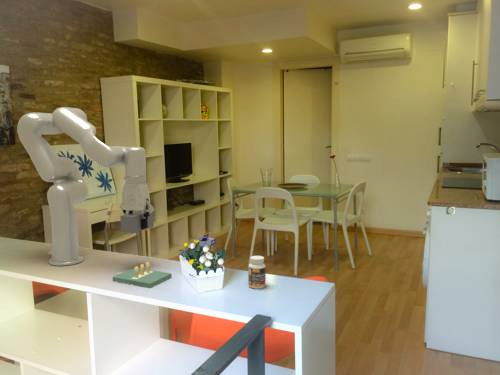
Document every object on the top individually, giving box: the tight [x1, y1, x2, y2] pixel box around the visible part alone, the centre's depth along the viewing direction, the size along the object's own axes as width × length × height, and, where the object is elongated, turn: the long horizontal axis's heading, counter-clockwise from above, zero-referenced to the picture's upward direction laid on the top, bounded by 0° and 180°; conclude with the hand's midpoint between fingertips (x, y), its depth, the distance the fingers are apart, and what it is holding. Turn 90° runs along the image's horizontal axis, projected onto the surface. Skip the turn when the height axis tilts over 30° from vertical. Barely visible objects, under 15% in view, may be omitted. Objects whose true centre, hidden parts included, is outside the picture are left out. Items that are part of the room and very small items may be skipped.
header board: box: [112, 261, 172, 289], centre depth 154 cm, size 16×12×5 cm
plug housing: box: [119, 211, 154, 234], centre depth 166 cm, size 12×6×6 cm, turn 155°
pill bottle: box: [247, 255, 267, 290], centre depth 147 cm, size 6×6×10 cm
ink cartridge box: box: [190, 233, 217, 252], centre depth 162 cm, size 10×6×14 cm, turn 155°
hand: (137, 227), depth 166 cm, fingers closed on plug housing, 5 cm apart
